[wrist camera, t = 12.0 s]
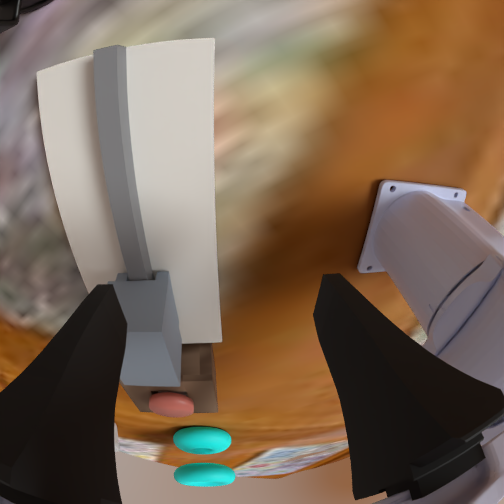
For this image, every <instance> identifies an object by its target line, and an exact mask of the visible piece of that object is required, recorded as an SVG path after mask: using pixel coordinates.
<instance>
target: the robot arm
mask: <svg viewBox="0 0 504 504" xmlns="http://www.w3.org/2000/svg"><path fill="white" fill-rule="evenodd" d="M391 186H393V188H392V189H391V190H390V187H391ZM465 198H466V191H465V190H463V189H460V188H454V187H446V186H439V185H431V184H422V183H413V182H404V181H393V180H384V181H382V182H381V183H380V185H379V188H378V193H377V197H376V201H375V205H374V209H373V213H372V217H371V221H370V225H369V228H368V232H367V236H366V239H365V243H364V246H363V250H362V253H361V256H360V260H359V263H358V266H357V269H358V271H359V272H360V273H371V272H382V271H386V272H387V273H388V275H389V276H390V277H391V279H392V280H393V282H394V283H395V285H396V286H397V288H398V289H399V291H400V293H401V294H402V296H403V297H404V299H405V300H406V302H407V303H408V305H409V307H410V308H411V310H412V311H413V313H414V315H415V316H416V318H417V319H418V321H419V323H420V324H421V326H422V328H423V329H424V331H425V333H426V334H427V336H428V339H427V340H426V342H425V343H424V345H423V346H421V345H419V344H418V343H417V342H415V341H414V340H413V339H411V338H410V337H409V336H408V335H406V334H405V333H404V332H403V331H402V330H400V329H399V328H398V327H397V326H396V325H395V324H393V323H392V322H391V321H390V320H389V319H388V318H387V317H385V316H384V315H383V314H382V313H381V312H380V311H379V310H378V309H377V308H376V307H375V306H373V305H372V304H371V303H370V302H369V301H368V300H367V299H366V298H365V297H364V296H363V295H362V294H361V293H360V292H359V291H358V290H357V289H356V288H355V287H354V286H353V285H351V284H350V283H349V282H348V281H347V280H346V279H345V278H344V277H343V276H342V275H341V274H339V273H337V274H323V278H322V282H321V286H320V290H319V294H318V298H317V301H316V305H315V309H314V313H313V317H314V321H315V326H316V330H317V335H318V339H319V342H320V345H321V347H322V350H323V353H324V356H325V359H326V361H327V364H328V367H329V369H330V372H331V375H332V378H333V381H334V383H335V386H336V389H337V392H338V395H339V399H340V403H341V407H342V412H343V417H344V421H345V427H346V432H347V438H348V444H349V452H350V460H351V470H352V486H353V487H352V488H353V494H354V498H355V500H358V499H362V498H366V497H369V496H373V495H376V494H379V493H382V492H384V491H386V493H387V497H388V498H385V499H383V500H380V501H378V502H375V503H372V504H497V503H498V502H499V501H500V500H501V499H502V498H503V497H504V236H503V235H502V234H500V233H499V232H498V231H497V230H496V229H495V228H494V227H493V226H492V225H491V224H489V223H488V222H487V221H486V220H485V219H484V218H482V217H481V216H480V215H479V214H478V213H477V212H475V211H474V210H473V209H472V208H470V207H469V206H468V205H467V204H466V203H464V201H465ZM367 267H368V268H367ZM127 326H128V323H127V321H126V318H125V316H124V313H123V311H122V308H121V306H120V303H119V300H118V298H117V295H116V292H115V289H114V286H113V284H97V285H96V286H95V288H94V289H93V290H92V291H91V292H90V293H89V295H88V296H87V297H86V298H85V299H84V301H83V302H82V303H81V304H80V306H79V307H78V308H77V309H76V311H75V312H74V313H73V314H72V315H71V317H70V318H69V319H68V320H67V322H66V323H65V324H64V326H63V327H62V328H61V329H60V330H59V332H58V333H57V334H56V335H55V336H54V337H53V339H52V340H51V341H50V342H49V343H48V345H47V346H46V347H45V348H44V349H43V351H42V352H41V353H40V354H39V355H38V356H37V357H36V358H35V360H34V361H33V362H32V363H31V364H30V365H29V366H28V367H27V368H26V369H25V370H24V371H23V372H22V373H21V374H20V375H19V376H18V377H17V378H16V379H15V380H13V381H12V382H11V383H10V384H9V385H8V386H7V387H6V388H5V389H4V390H3V391H2V392H0V504H122V501H121V496H120V491H119V485H118V479H117V471H116V462H115V444H114V416H115V404H116V397H117V391H118V386H119V380H120V375H121V370H122V364H123V359H124V354H125V348H126V338H127ZM481 445H482V446H481Z"/></svg>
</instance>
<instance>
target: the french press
mask: <svg viewBox="0 0 504 504" xmlns="http://www.w3.org/2000/svg"><path fill="white" fill-rule="evenodd" d="M51 1H53V0H0V33H2V32H4V31H5V30H7V29H9V28H11V27H14V26H15V25H17V24H18V22H19V17H20V14H21V13H27V12H30V11H33V10H36V9H38V8H40V7H42V6H44V5H46V4H48V3H50V2H51Z"/></svg>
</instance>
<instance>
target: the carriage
mask: <svg viewBox="0 0 504 504" xmlns="http://www.w3.org/2000/svg"><path fill="white" fill-rule="evenodd" d="M107 284H113V286H114V289H115V292H116V295H117V298H118V300H119V303H120V306H121V308H122V311H123V313H124V316H125V318H126V321H127V323H128V326H127V338H126V348H125V354H124V359H123V364H122V370H121V375H120V379H121V381H122V382H123V384H124V385H135V386H165V387H180V380H181V349H182V338H181V334H180V330H179V319H178V314H177V309H176V305H175V300H174V295H173V290H172V285H171V280H170V275H169V271H165V272H157V275H156V280H141V281H129V277H128V274H127V273H118V274H117V277H116V280H115V281H108V283H107Z"/></svg>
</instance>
